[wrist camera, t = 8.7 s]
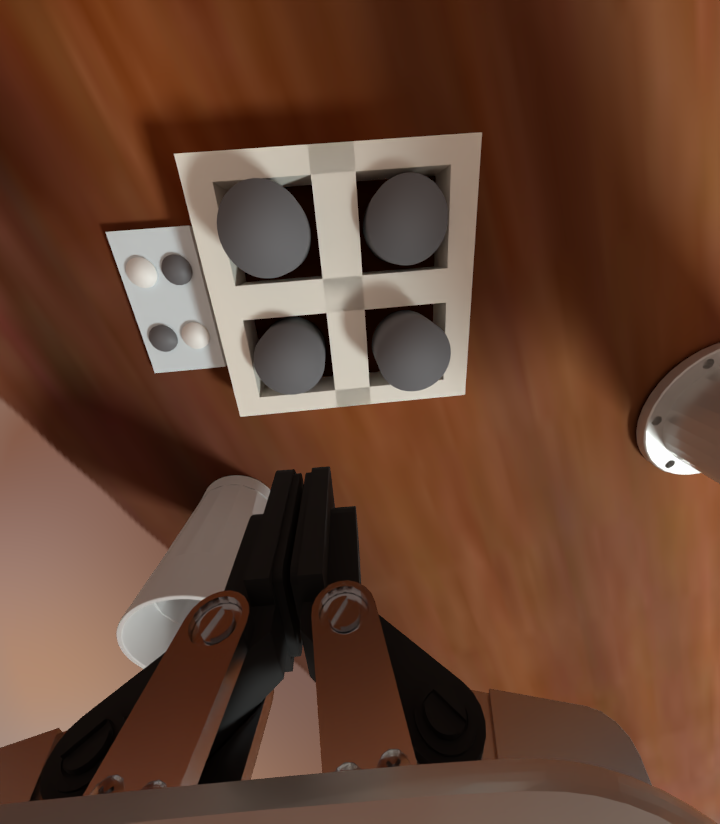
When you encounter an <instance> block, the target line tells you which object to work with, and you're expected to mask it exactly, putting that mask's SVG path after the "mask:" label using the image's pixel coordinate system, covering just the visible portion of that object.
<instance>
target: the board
mask: <svg viewBox="0 0 720 824" xmlns="http://www.w3.org/2000/svg"><path fill="white" fill-rule="evenodd" d="M481 141H482V132H478V133H464V134H449V135H435V136H421V137H407V138H392V139H378V140H364V141H349V142H335V143H321V144H307V145H292V146H278V147H264V148H249V149H235V150H221V151H207V152H192V153H178V154H174V156H175V160H176V164H177V168H178V172H179V176H180V180H181V184H182V188H183V192H184V196H185V200H186V204H187V208H188V212H189V216H190V220H191V224H192V227H193V231H194V235H195V239H196V243H197V247H198V251H199V255H200V259H201V263H202V267H203V271H204V275H205V279H206V283H207V287H208V291H209V295H210V299H211V303H212V307H213V311H214V314H215V318H216V322H217V326H218V330H219V334H220V338H221V342H222V346H223V350H224V354H225V358H226V362H227V366H228V370H229V374H230V378H231V382H232V386H233V390H234V394H235V398H236V401H237V405H238V409H239V413H240V417H243V416H253V415H263V414H273V413H283V412H294V411H304V410H314V409H324V408H334V407H344V406H355V405H365V404H375V403H385V402H395V401H405V400H415V399H426V398H436V397H446V396H456V395H465V386H466V371H467V355H468V340H469V325H470V309H471V294H472V279H473V264H474V248H475V233H476V218H477V202H478V187H479V172H480V156H481ZM402 173H419V174H422V175H424V176H436V184H437V186H438V187H439V188H440V190H441V191H442V193H443V195H444V197H445V200H446V203H447V208H448V225H447V230H446V233H445V236H444V238H443V241H442V242H441V244H440V246H439V247H438V249H437V250H436V251H435V252H434V266H433V267H421V268H409V269H397V270H385V271H373V272H362V262H361V247H360V232H359V216H358V201H357V186H356V182H357V181H370V180H383V179H390V178H392V177H394V176H396V175H399V174H402ZM251 178H263V179H267V180H271V181H273V182H275V183H278V184H279V185H281V186H282V187H289V186H303V185H312V190H313V199H314V207H315V216H316V225H317V234H318V243H319V252H320V260H321V269H322V276H314V277H302V278H290V279H278V280H266V281H255V282H246V277H245V272H244V271H243V270H241V269H240V268H238V267H237V266H236V265H235V264H234V263H233V262H232V261H231V260H230V258H229V257H228V256H227V254H226V253H225V251H224V249H223V247H222V245H221V242H220V239H219V236H218V231H217V213H218V208H219V205H220V203H221V201H222V199H223V197H224V195H225V194H226V192H227V191H228V190H229V189H230V188H231V187H232V186H234V185H235V184H237V183H238V182H240V181H243V180H246V179H251ZM424 304H433V323H434V324H436V325H437V326H438V327H440V328H441V329H442V330H443V331H444V333H445V334H446V336H447V338H448V340H449V343H450V348H451V357H450V362H449V365H448V368H447V369H446V371H445V373H444V374H443V376H442V377H441V378H440V379H439V380H438V381H437V382H436V383H434V384H433V385H432V386H430V387H428V388H426V389H423V390H419V391H403V390H400V389H397V388H395V387H393V386H392V385H390V384H389V383H388V382H387V381H386V380H385V379H384V377H383V376H382V374H381V372H370V373H369V369H368V353H367V338H366V323H365V310H367V309H378V308H390V307H401V306H412V305H424ZM322 313H327V322H328V331H329V340H330V349H331V358H332V366H333V375H334V376H328V377H321V379H320V380H319V382H318V383H317V384H316V385H315V386H314V387H313V388H312V389H310V390H308V391H306V392H304V393H301V394H295V395H289V394H282V393H279V392H276V391H274V390H272V389H271V388H269V387H268V386H267V385H265V384H264V383H263V382H262V380H261V379H260V378H259V376H258V374H257V372H256V370H255V366H254V351H255V347H256V345H257V343H258V342H259V340H258V335H257V330H256V326H255V321H254V319H265V318H276V317H288V316H299V315H310V314H322Z"/></svg>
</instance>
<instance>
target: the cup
mask: <svg viewBox="0 0 720 824" xmlns="http://www.w3.org/2000/svg"><path fill="white" fill-rule="evenodd" d="M269 494H270V489H269V488H268V487H267V486H266V485H264V484H263V483H262V482H260V481H258V480H256V479H254V478H251V477H247V476H241V475H232V476H226V477H223V478H220V479H218V480H216V481H214V482H213V483H212V484H211V485H210V486H209V487H208V488H207V490H206V492H205V493H204V495H203V497H202V499H201V501H200V503H199V504H198V506H197V507H196V509H195V510H194V512H193V513H192V515H191V516H190V518H189V519H188V521H187V522H186V524H185V525H184V527H183V529H182V530H181V532H180V533H179V535H178V536H177V538H176V539H175V541H174V542H173V544H172V545H171V547H170V548H169V550H168V551H167V553H166V554H165V556H164V557H163V559H162V560H161V562H160V563H159V565H158V566H157V568H156V569H155V570H154V572H153V573H152V575H151V576H150V578H149V579H148V581H147V582H146V584H145V585H144V586H143V588H142V589H141V591H140V592H139V594H138V595H137V597H136V598H135V600H134V601H133V603H132V604H131V606H130V607H129V608H128V610H127V611H126V613H125V614H124V616H123V617H122V619H121V620H120V622H119V624H118V627H117V641H118V644H119V646H120V648H121V650H122V651H123V653H124V654H125V655H126V656H127V657H128V658H129V659H130V660H131V661H132V662H134V663H135V664H136V665H138V666H140V667H141V668H143V669H144V668H146V667H147V666H148V665H149V664H151V663H152V662H153V661H155V660H156V659H157V658H158V657H160V656H161V655H162V654H164V653H165V652H166V651H167V649H168V647H169V645H170V644H171V642H172V640H173V638H174V637H175V635H176V633H177V632H178V630H179V628H180V626H181V625H182V623H183V621H184V619H185V618H186V616H187V615H188V614H189V612H190V611H191V610H192V608H193V607H195V606H196V605H197V604H198V603H199V602H200V601H201V600H203V599H205V598H206V597H208V596H210V595H212V594H214V593H217V592H220V591H224V590H225V587H226V584H227V581H228V578H229V575H230V573H231V570H232V567H233V564H234V561H235V558H236V555H237V553H238V550H239V547H240V544H241V541H242V538H243V535H244V533H245V530H246V527H247V524H248V521H249V519H250V517H251V516H252V515H255V514H263V513H264V510H265V507H266V503H267V500H268V497H269Z"/></svg>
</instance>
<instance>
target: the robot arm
mask: <svg viewBox="0 0 720 824" xmlns="http://www.w3.org/2000/svg"><path fill="white" fill-rule="evenodd" d="M636 436H637V444H638V447H639V450H640V452H641V453H642V455H643V456H644V458H645V459H646V460H648V461H649V462H650V463H652V464H653V465H654V466H656V467H658V468H659V469H661V470H663V471H665V472H669V473H673V474H682V475H688V474H697V473H703V474H704V475H706V476H708V477H709V478H711V479H713V480H714V481H716V482H718V483H719V484H720V343H717V344H714V345H712V346H709V347H707V348H705V349H702V350H700V351H698V352H697V353H695V354H693V355H692V356H690V357H688V358H687V359H685V360H684V361H682V362H681V363H680V364H679V365H677V366H676V367H675V368H674V369H672V370H671V371H670V372H669V373H668V374H667V375H666V376H665V377H664V378H663V379H662V380H661V381H660V382H659V383H658V385H657V386H656V387H655V389H654V390H653V391H652V393H651V394H650V395H649V397H648V399H647V401H646V402H645V404H644V406H643V408H642V411H641V414H640V416H639V419H638V424H637V430H636ZM302 645H303V647H304V651H305V656H306V660H307V665H308V669H309V674H310V677H311V678H312V679H313V680H314V681H315V682H316V689H317V705H318V719H319V733H320V747H321V761H322V773H319V774H308V775H297V776H286V777H275V778H265V779H254V780H251V776H252V773H253V769H254V766H255V762H256V759H257V755H258V751H259V748H260V744H261V740H262V737H263V734H264V730H265V726H266V723H267V719H268V715H269V712H270V708H271V705H272V700H273V694H274V688H275V687H276V686H277V685H278V684H279V683H280V681H282V680H283V678H284V672H290V671H293V663H294V657H296V656H301V653H302ZM0 824H717V823H716V822H714V821H713V820H711V819H710V818H708V817H707V816H705V815H704V814H702V813H701V812H700V811H698V810H697V809H695V808H694V807H692V806H690V805H689V804H687V803H685V802H683V801H681V800H679V799H678V798H676V797H674V796H672V795H670V794H669V793H667V792H665V791H663V790H661V789H659V788H656V787H654V786H652V784H651V782H650V780H649V777H648V775H647V772H646V770H645V767H644V765H643V762H642V760H641V757H640V755H639V753H638V751H637V750H636V748H635V746H634V744H633V742H632V741H631V739H630V737H629V736H628V735H627V734H626V733H625V732H624V730H623V729H622V728H621V727H620V726H619V725H618V724H617V723H616V722H615V721H614V720H612V719H611V718H609V717H608V716H607V715H605V714H604V713H602V712H601V711H598V710H595V709H593V708H590V707H587V706H582V705H577V704H571V703H566V702H560V701H555V700H549V699H544V698H538V697H533V696H527V695H522V694H516V693H511V692H505V691H500V690H495V689H489V693H485V692H479V691H474V690H470V689H469V688H468V687H467V686H466V685H465V684H464V683H463V682H462V681H461V680H460V679H458V678H457V677H456V676H455V675H453V674H452V673H451V672H450V671H448V670H447V669H446V668H445V667H443V666H442V665H441V664H440V663H438V662H437V661H436V660H435V659H434V658H432V657H431V656H430V655H429V654H427V653H426V652H425V651H424V650H422V649H421V648H420V647H419V646H417V645H416V644H415V643H414V642H412V641H411V640H410V639H409V638H407V637H406V636H405V635H404V634H402V633H401V632H400V631H399V630H397V629H396V628H395V627H394V626H392V625H391V624H390V623H389V622H387V621H386V620H385V619H384V618H382V617H381V616H380V615H379V614H378V611H377V607H376V603H375V600H374V598H373V596H372V593H371V592H370V591H369V590H368V589H367V588H366V587H365V586H363V585H362V584H361V574H360V556H359V540H358V527H357V516H356V506H352V507H340V508H335V504H334V496H333V488H332V479H331V471H330V467H318V468H312V473H306V475H305V481H304V484H303V478H302V474H301V473H300V474H296V472H295V470H294V469H293V470H280V471H276V474H275V477H274V480H273V484H272V487H271V490H270V494H269V497H268V500H267V503H266V507H265V510H264V513H263V514H255V515H252V516H251V517H250V519H249V521H248V524H247V527H246V530H245V533H244V535H243V538H242V541H241V544H240V547H239V550H238V553H237V555H236V558H235V561H234V564H233V567H232V570H231V573H230V575H229V578H228V581H227V584H226V587H225V590H224V591H220V592H217V593H214V594H212V595H210V596H208V597H206V598H205V599H203V600H201V601H200V602H199V603H198V604H197V605H196V606H195V607H193V608H192V610H191V611H190V612H189V614H188V615H187V616H186V618H185V619H184V621H183V623H182V625H181V626H180V628H179V630H178V632H177V633H176V635H175V637H174V638H173V640H172V642H171V644H170V645H169V647H168V649H167V651H166V652H165V653H164V654H162V655H161V656H160V657H158V658H157V659H156V660H155V661H153V662H152V663H151V664H149V665H148V666H147V667H146V668H144V669H143V670H142V671H141V672H139V673H138V674H137V675H135V676H134V677H133V678H132V679H130V680H129V681H128V682H127V683H125V684H124V685H123V686H121V687H120V688H119V689H118V690H116V691H115V692H114V693H112V694H111V695H110V696H108V697H107V698H106V699H105V700H103V701H102V702H101V703H99V704H98V705H97V706H96V707H94V708H93V709H92V710H91V711H89V712H88V713H87V714H85V715H84V716H83V717H82V718H81V719H80V720H78V721H77V722H76V723H75V724H74V725H73V726H72V727H71V728H70V729H68V731H65V732H62V731H61V730H60V729H59V728H57V729H54V730H51V731H48V732H45V733H42V734H39V735H37V736H34V737H31V738H28V739H25V740H22V741H19V742H16V743H13V744H10V745H7V746H4V747H1V748H0Z"/></svg>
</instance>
